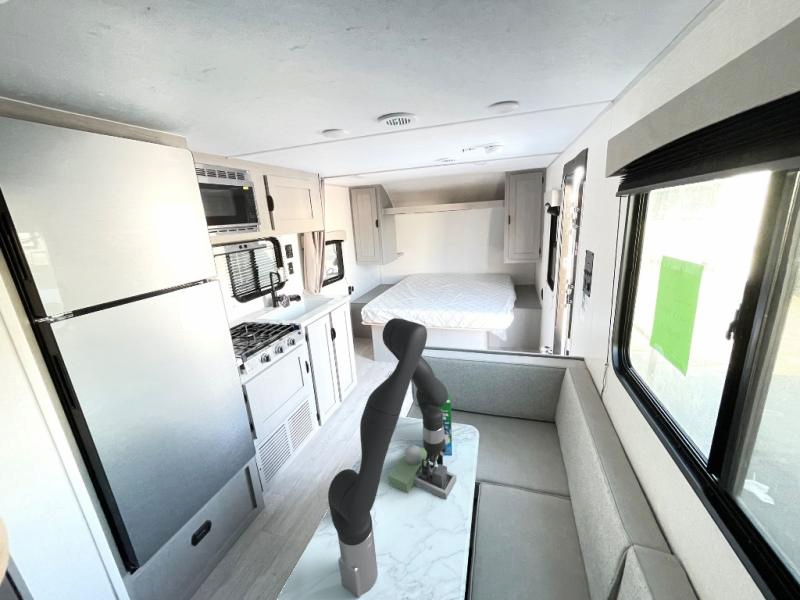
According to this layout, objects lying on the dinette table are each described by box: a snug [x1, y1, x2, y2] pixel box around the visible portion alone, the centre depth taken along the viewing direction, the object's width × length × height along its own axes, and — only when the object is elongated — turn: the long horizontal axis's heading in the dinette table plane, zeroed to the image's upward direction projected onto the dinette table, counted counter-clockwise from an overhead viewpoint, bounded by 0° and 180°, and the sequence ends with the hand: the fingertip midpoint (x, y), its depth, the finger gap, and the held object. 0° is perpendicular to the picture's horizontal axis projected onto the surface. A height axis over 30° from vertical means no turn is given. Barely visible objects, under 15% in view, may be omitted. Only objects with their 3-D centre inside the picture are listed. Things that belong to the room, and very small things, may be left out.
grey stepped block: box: [419, 464, 448, 490], centre depth 115 cm, size 9×5×7 cm, turn 58°
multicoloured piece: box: [388, 444, 457, 500], centre depth 117 cm, size 18×21×8 cm
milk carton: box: [439, 394, 453, 456], centre depth 129 cm, size 9×9×25 cm
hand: (434, 472), depth 115 cm, fingers open, 8 cm apart
